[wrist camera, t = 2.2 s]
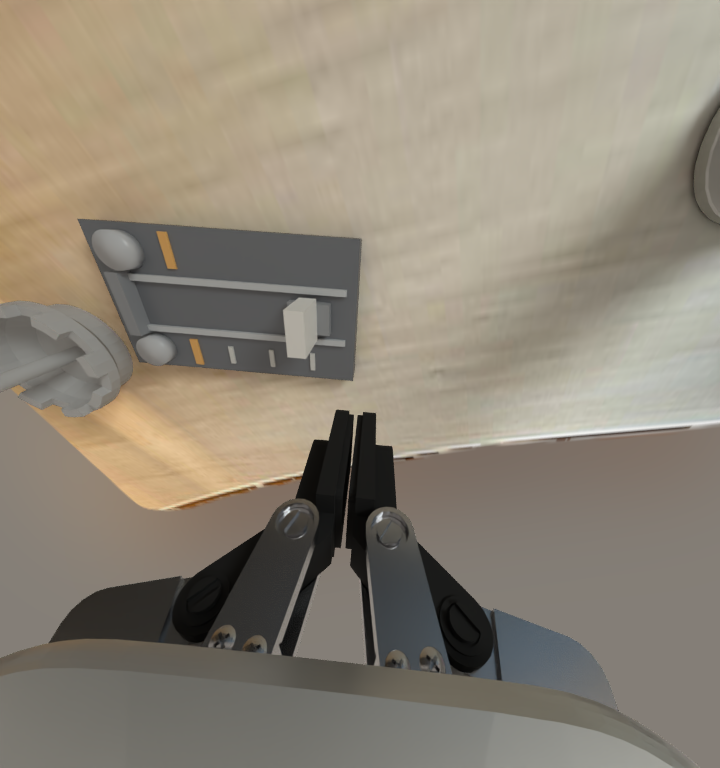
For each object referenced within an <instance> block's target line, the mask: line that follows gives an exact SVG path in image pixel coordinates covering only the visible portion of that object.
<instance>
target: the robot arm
mask: <svg viewBox="0 0 720 768" xmlns="http://www.w3.org/2000/svg"><path fill="white" fill-rule="evenodd" d="M694 191H695V198H696V200H697V203H698V205H699V207H700V210H701V211H702V212H703V213H704V214H705V215H706V216H707V217H708V218H709V219H710V220H712V221H714V222H716V223H718V224H720V108H719V110H718V111H717V113H716V115H715V116H714V118H713V120H712V122H711V124H710V126H709V128H708V130H707V133H706V135H705V137H704V139H703V142H702V144H701V147H700V151H699V154H698V157H697V161H696V164H695V173H694ZM353 421H354V415H351V414H349V411H345V410H336V412H335V416H334V421H333V425H332V429H331V433H330V437H329V441H327V440H314V441H313V444H312V447H311V451H310V454H309V457H308V460H307V463H306V466H305V470H304V473H303V476H302V479H301V482H300V485H299V489H298V492H297V495H296V498H295V499H292V500H289V501H287V502H285V503H283V504H282V505H281V506H279V507H278V508H277V509H276V511H275V512H274V513H273V515H272V517H271V519H270V521H269V522H268V524H267V526H266V528H265V529H264V530H262V531H261V532H259V533H258V534H256V535H255V536H253V537H252V538H250V539H249V540H247V541H246V542H244V543H243V544H241V545H240V546H238V547H237V548H235V549H233V550H232V551H230V552H229V553H227V554H226V555H224V556H223V557H221V558H220V559H218V560H217V561H215V562H214V563H212V564H211V565H209V566H208V567H206V568H205V569H203V570H202V571H200V572H199V573H197V574H196V575H195V576H194V577H191V578H185V579H183V578H182V576H178V577H172V578H166V579H159V580H153V581H148V582H141V583H135V584H129V585H123V586H116V587H110V588H106V589H103V590H100V591H97V592H95V593H93V594H91V595H90V596H88V597H86V598H85V599H83V600H82V601H81V602H80V603H79V604H77V605H76V606H75V607H74V608H73V609H72V610H71V611H70V612H69V613H68V615H67V616H66V617H65V619H64V620H63V621H62V622H61V624H60V626H59V627H58V629H57V630H56V632H55V634H54V635H53V637H52V638H51V640H50V642H49V643H48V644H42V645H39V646H35V647H32V648H28V649H24V650H21V651H17V652H15V653H12V654H10V655H7V656H4V657H2V658H0V768H700V767H699V766H698V765H697V764H696V763H694V762H693V761H692V760H691V759H690V758H689V757H687V756H686V755H685V754H684V753H682V752H681V751H680V750H678V749H677V748H676V747H674V746H673V745H672V744H670V743H669V742H668V741H666V740H665V739H664V738H662V737H661V736H659V735H658V734H656V733H655V732H653V731H652V730H650V729H648V728H647V727H645V726H644V725H642V724H640V723H639V722H638V721H636V720H634V719H632V718H630V717H628V716H626V715H624V714H622V713H621V712H619V710H618V707H617V704H616V702H615V699H614V696H613V693H612V690H611V687H610V685H609V682H608V680H607V679H606V676H605V674H604V672H603V670H602V668H601V666H600V665H599V664H598V663H597V661H596V660H595V658H594V657H593V656H592V654H591V653H590V652H589V651H587V649H585V648H584V647H583V646H582V645H581V644H580V643H578V642H577V641H575V640H573V639H572V638H570V637H568V636H565V635H563V634H560V633H557V632H554V631H552V630H549V629H546V628H544V627H542V626H539V625H536V624H534V623H531V622H528V621H526V620H523V619H521V618H518V617H515V616H513V615H510V614H507V613H505V612H502V611H499V610H497V609H493V610H492V611H491V610H488V609H486V608H483V607H481V606H480V605H479V604H478V603H477V602H476V601H475V599H474V598H472V596H470V594H469V593H468V592H467V591H466V590H465V589H464V588H463V587H462V586H461V585H460V584H459V583H457V581H456V580H455V579H454V578H453V577H452V576H451V575H450V574H449V573H448V572H447V571H446V570H445V569H444V568H443V567H442V566H441V565H440V564H439V563H438V562H437V561H436V560H435V559H434V558H433V557H432V556H431V555H430V554H429V553H428V552H427V551H426V550H425V549H424V548H423V547H422V546H421V545H420V544H419V543H418V542H417V540H416V536H415V532H414V528H413V526H412V524H411V521H410V520H409V518H408V517H407V516H406V515H405V514H404V513H402V512H401V511H400V510H397V508H396V492H395V478H394V462H393V449H392V446H382V445H376V413H368V412H363V415H358V418H357V427H356V436H355V445H354V453H353V462H352V471H351V480H350V489H349V499H348V515H347V516H348V517H347V533H346V548H347V549H352V550H351V563H350V566H351V568H352V569H353V570H354V572H355V573H356V574H357V576H358V577H359V584H360V599H361V614H362V628H363V642H364V655H365V665H363V664H354V663H345V662H336V661H327V660H318V659H309V658H300V657H296V655H297V651H298V648H299V645H300V642H301V639H302V635H303V632H304V629H305V625H306V622H307V618H308V615H309V612H310V608H311V605H312V602H313V598H314V596H315V592H316V589H317V586H318V582H319V579H320V575H321V572H322V571H323V570H325V569H326V568H327V567H328V566H329V565H330V564H331V560H332V557H334V550H335V547H337V548H341V542H342V533H343V525H344V516H345V508H346V500H347V491H348V484H349V475H350V467H351V454H352V438H353Z"/></svg>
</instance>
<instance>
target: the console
mask: <svg viewBox="0 0 720 768" xmlns="http://www.w3.org/2000/svg"><path fill="white" fill-rule="evenodd" d="M78 221H79V224H80V226H81V228H82V230H83V233H84V235H85V237H86V240H87V242H88V244H89V247H90V249H91V251H92V254H93V256H94V258H95V260H96V263H97V265H98V267H99V270H100V272H101V274H102V277H103V279H104V281H105V284H106V286H107V288H108V290H109V293H110V295H111V297H112V300H113V302H114V304H115V307H116V309H117V311H118V314H119V316H120V318H121V320H122V323H123V325H124V327H125V330H126V332H127V334H128V337H129V339H130V341H131V344H132V346H133V348H134V350H135V353H136V355H137V357H138V360H139V362H145V363H150V364H152V365H155V366H161V365H164V364H168V365H179V366H190V367H202V368H213V369H225V370H236V371H247V372H259V373H270V374H282V375H293V376H304V377H316V378H327V379H339V380H350V381H353V377H354V370H355V352H356V334H357V316H358V298H359V280H360V262H361V244H362V239H359V238H345V237H331V236H317V235H303V234H289V233H275V232H261V231H247V230H233V229H219V228H205V227H191V226H177V225H163V224H149V223H135V222H121V221H107V220H90V219H78ZM298 298H312V299H316V302H326V303H331V334H330V336H322V335H317V341H316V343H315V345H314V346H313V348H312V350H311V351H310V353H309V355H308V357H307V358H306V359H301V358H289V357H287V347H286V337H285V326H284V316H283V310H284V309H285V308H286V307H287V301H289V300H297V299H298Z"/></svg>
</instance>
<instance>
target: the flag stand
mask: <svg viewBox="0 0 720 768" xmlns="http://www.w3.org/2000/svg"><path fill="white" fill-rule="evenodd" d="M132 372H133V363H132V359H131V355H130V353H129V351H128V349H127V347H126V346H125V344H124V343H123V341H122V340H121V338H120V337H119V336H118V335H117V334H116V333H115V331H113V330H112V329H111V328H110V327H109V326H108V325H107V324H106V323H104V322H103V321H102V320H100V319H99V318H97V317H96V316H94V315H92V314H91V313H89V312H87V311H85V310H82V309H80V308H77V307H74V306H70V305H65V304H55V305H49V306H45V305H42V304H38V303H34V302H30V301H14V302H8V303H3V304H0V392H3V391H5V390H7V389H10V388H12V387H15V386H17V385H20V386H22V387H23V388H24V389H26V391H24V392H21V393H20V394H19V396H18V398H20V399H21V400H23V401H25V402H27V403H29V404H30V405H33V406H35V407H37V408H39V409H41V410H43V409H45V408H47V407H49V406H50V405H52V404H54V405H56V406H59V407H62V409H61V410H62V412H63V414H64V415H65V416H67V417H82V416H86V415H87V414H89V413H90V412H92V411H94V410H98V409H100V408H102V407H103V406H105V405H107V404H108V403H110V402H111V401H113V400H114V399H115V398H116V397H117V395H118V394H119V391H120V387H121V385H123V384H124V383H126V382H127V381H128V380H129V379H130V377H131V375H132Z"/></svg>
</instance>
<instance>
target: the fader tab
mask: <svg viewBox="0 0 720 768" xmlns="http://www.w3.org/2000/svg"><path fill="white" fill-rule="evenodd" d="M283 316H284V326H285V337H286V347H287V357H289V358H301V359H306V358H307V357H308V355H309V353H310V351H311V350H312V348H313V346H314V345H315V343H316V341H317V335H322V336H330V334H331V303H326V302H316V299H312V298H298V299H297V300H289V301H287V307H286V308H285V309H284V310H283Z"/></svg>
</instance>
